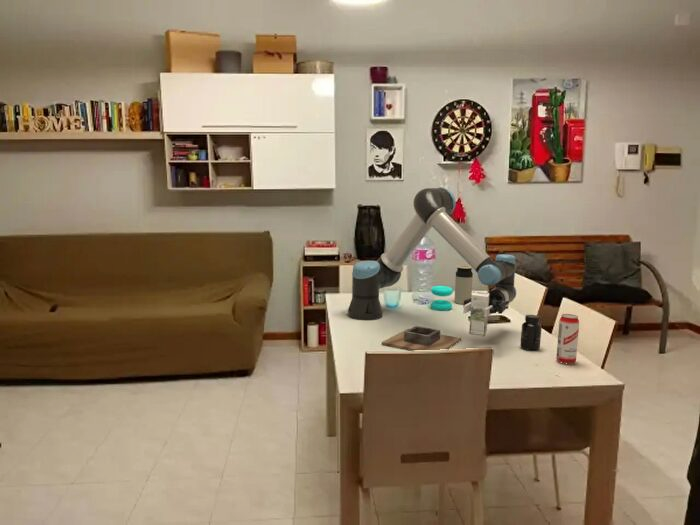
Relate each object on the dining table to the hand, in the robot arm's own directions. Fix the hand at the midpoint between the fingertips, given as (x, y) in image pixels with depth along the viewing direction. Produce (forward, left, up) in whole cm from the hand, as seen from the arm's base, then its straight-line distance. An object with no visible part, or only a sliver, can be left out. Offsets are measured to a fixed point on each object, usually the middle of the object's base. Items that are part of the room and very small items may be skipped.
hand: (474, 311), depth 192 cm
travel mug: (-31, +72, -16) cm, 80 cm away
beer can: (+29, +11, -16) cm, 35 cm away
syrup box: (0, +5, -9) cm, 10 cm away
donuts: (-35, +55, -16) cm, 67 cm away
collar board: (-20, +2, -16) cm, 25 cm away
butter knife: (+21, +3, -16) cm, 26 cm away
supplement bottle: (+15, +19, -16) cm, 29 cm away
